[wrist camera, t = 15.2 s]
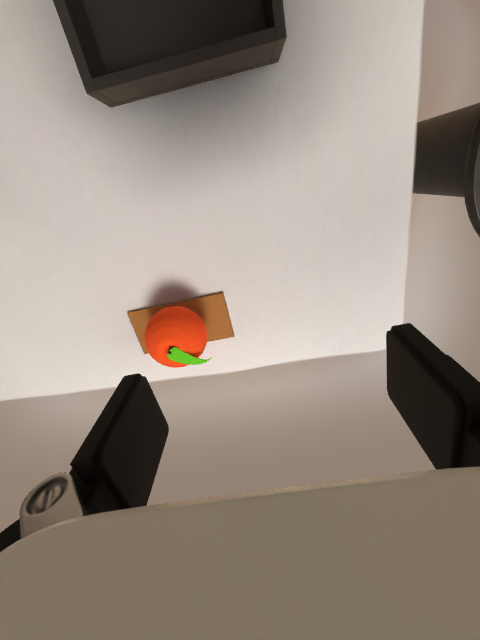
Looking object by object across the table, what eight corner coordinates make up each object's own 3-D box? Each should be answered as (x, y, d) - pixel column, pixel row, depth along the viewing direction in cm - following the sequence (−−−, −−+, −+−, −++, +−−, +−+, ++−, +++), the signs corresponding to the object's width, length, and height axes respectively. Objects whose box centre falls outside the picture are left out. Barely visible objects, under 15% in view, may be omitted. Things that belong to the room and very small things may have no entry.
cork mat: (223, 292, 35) (222, 293, 34) (234, 335, 37) (234, 336, 37) (128, 311, 36) (126, 313, 35) (145, 352, 38) (144, 354, 38)
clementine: (227, 316, 36) (225, 346, 29) (202, 358, 38) (195, 394, 32) (166, 286, 34) (150, 311, 27) (145, 332, 36) (125, 365, 30)
